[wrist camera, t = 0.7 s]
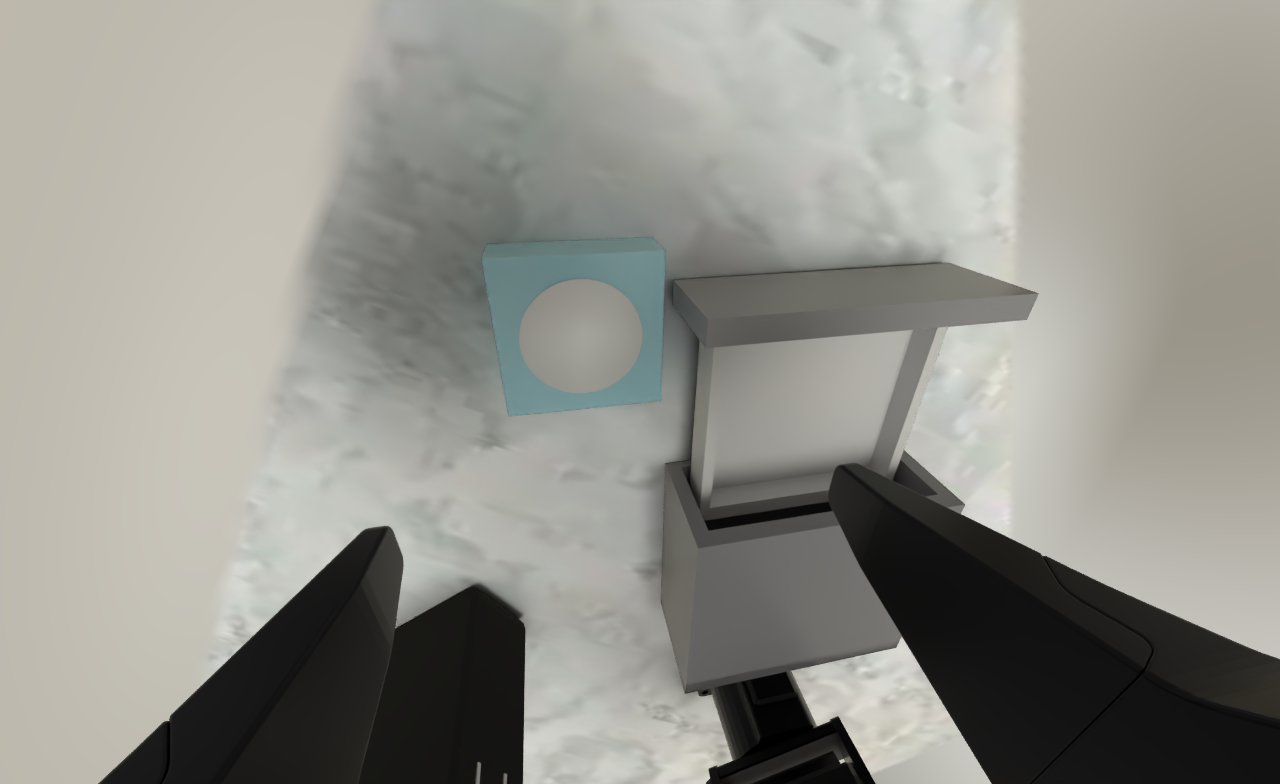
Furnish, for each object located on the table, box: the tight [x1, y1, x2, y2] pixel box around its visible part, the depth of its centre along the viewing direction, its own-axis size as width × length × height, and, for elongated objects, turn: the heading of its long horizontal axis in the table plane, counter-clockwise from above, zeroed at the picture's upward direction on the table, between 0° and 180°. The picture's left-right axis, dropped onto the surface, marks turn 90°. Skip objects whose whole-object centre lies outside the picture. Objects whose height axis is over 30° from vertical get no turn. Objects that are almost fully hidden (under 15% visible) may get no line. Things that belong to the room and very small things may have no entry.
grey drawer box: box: [661, 451, 965, 694], centre depth 25 cm, size 11×12×5 cm
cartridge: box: [481, 237, 665, 416], centre depth 18 cm, size 6×6×2 cm
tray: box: [673, 263, 1038, 521], centre depth 20 cm, size 11×12×4 cm
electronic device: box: [358, 587, 525, 784], centre depth 22 cm, size 4×10×10 cm, turn 119°
